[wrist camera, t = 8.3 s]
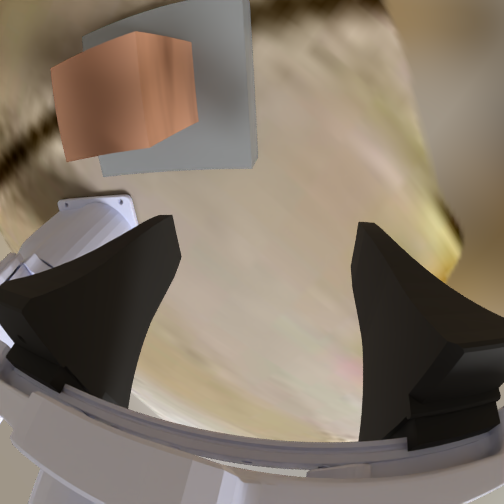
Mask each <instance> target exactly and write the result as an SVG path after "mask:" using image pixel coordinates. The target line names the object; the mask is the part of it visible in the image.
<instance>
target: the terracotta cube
mask: <svg viewBox="0 0 504 504" xmlns="http://www.w3.org/2000/svg"><path fill="white" fill-rule="evenodd" d="M51 78H52V86H53V94H54V101H55V108H56V114H57V119H58V125H59V130H60V135H61V140H62V144H63V149H64V153H65V157H66V161H67V162H70V161H75V160H79V159H84V158H89V157H94V156H100V155H105V154H111V153H117V152H124V151H130V150H137V149H145V148H150V147H152V146H154V145H155V144H157V143H159V142H161V141H162V140H164V139H166V138H168V137H170V136H172V135H173V134H175V133H177V132H179V131H181V130H183V129H185V128H187V127H189V126H191V125H193V124H195V123H197V122H199V120H198V110H197V100H196V90H195V79H194V68H193V56H192V43H191V42H189V41H185V40H180V39H176V38H171V37H167V36H162V35H156V34H151V33H145V32H138V31H135V32H132V33H129V34H126V35H123V36H120V37H117V38H115V39H112V40H110V41H107V42H105V43H102V44H100V45H97V46H95V47H93V48H90V49H88V50H86V51H84V52H81V53H79V54H77V55H75V56H73V57H71V58H69V59H67V60H65V61H63V62H61V63H59V64H57V65H56V66H54V67H52V68H51Z"/></svg>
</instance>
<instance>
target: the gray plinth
mask: <svg viewBox="0 0 504 504" xmlns="http://www.w3.org/2000/svg"><path fill="white" fill-rule="evenodd" d="M135 31H138V32H145V33H151V34H156V35H162V36H167V37H171V38H176V39H180V40H185V41H189V42H191V43H192V56H193V68H194V79H195V90H196V100H197V110H198V120H199V122H197V123H195V124H193V125H191V126H189V127H187V128H185V129H183V130H181V131H179V132H177V133H175V134H173V135H172V136H170V137H168V138H166V139H164V140H162V141H161V142H159V143H157V144H155V145H154V146H152V147H150V148H145V149H137V150H130V151H124V152H117V153H111V154H105V155H100V156H98V157H99V161H100V165H101V170H102V174H103V177H107V176H117V175H126V174H137V173H149V172H163V171H180V170H203V169H252V168H253V166H254V164H255V162H256V160H257V158H258V147H257V126H256V106H255V87H254V69H253V51H252V34H251V17H250V2H249V1H248V0H186V1H182V2H177V3H173V4H169V5H166V6H162V7H158V8H155V9H152V10H148V11H145V12H142V13H139V14H136V15H133V16H130V17H128V18H125V19H122V20H119V21H117V22H114V23H112V24H109V25H107V26H105V27H102V28H100V29H98V30H95V31H93V32H91V33H89V34H87V35H85V36H82V43H83V52H84V51H86V50H88V49H90V48H93V47H95V46H97V45H100V44H102V43H105V42H107V41H110V40H112V39H115V38H117V37H120V36H123V35H126V34H129V33H132V32H135Z"/></svg>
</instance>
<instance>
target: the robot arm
mask: <svg viewBox="0 0 504 504" xmlns="http://www.w3.org/2000/svg"><path fill="white" fill-rule="evenodd" d="M120 199H121V200H122V201H123V202H121V200H120ZM58 208H59V212H58V213H57V214H55V215H54V216H53V217H52V218H50V219H49V220H48V221H47V222H46V223H45V224H43V225H42V226H41V227H40V228H39V229H38V230H36V231H35V232H34V233H33V234H32V235H31V236H30V237H29V238H28V239H26V240H25V242H24V243H23V244H22V246H21V247H20V249H19V252H18V253H17V254H16V253H11V252H10V253H9V254H8V255H7V256H6V257H5V258H4V259H3V260H2V261H1V262H0V423H1V422H2V420H3V419H4V420H5V421H6V422H7V423H8V424H9V425H10V426H11V427H12V428H13V431H12V434H11V436H10V439H11V442H12V444H13V445H14V446H15V447H16V448H17V449H18V450H19V451H20V452H21V453H22V454H23V455H24V456H26V457H27V458H28V459H29V460H30V461H32V462H33V463H34V464H36V465H37V466H38V467H40V471H39V473H38V476H37V479H36V481H35V484H34V487H33V490H32V493H31V495H30V498H29V501H28V504H467V503H469V502H471V501H473V500H475V499H477V498H480V497H482V496H484V495H486V494H488V493H490V492H492V491H494V490H496V489H498V488H499V487H501V486H503V485H504V406H503V407H502V408H500V409H497V405H496V401H498V400H499V399H500V396H501V395H500V392H499V387H500V386H501V385H502V384H503V383H504V317H501V316H499V315H497V314H495V313H493V312H491V311H489V310H487V309H485V308H483V307H481V306H480V305H478V304H476V303H474V302H473V301H471V300H469V299H468V298H466V297H464V296H463V295H461V294H460V293H458V292H457V291H455V290H454V289H452V288H450V287H449V286H448V285H446V284H445V283H443V282H442V281H441V280H439V279H438V278H437V277H435V276H434V275H433V274H431V273H430V272H429V271H428V270H426V269H425V268H424V267H423V266H422V265H420V264H419V263H418V262H417V261H416V260H415V259H413V258H412V257H411V256H410V255H409V254H408V253H407V252H406V251H405V250H403V249H402V248H401V247H400V246H399V245H398V244H397V243H396V242H395V241H394V240H393V239H392V238H391V237H390V236H389V235H388V234H386V233H385V232H384V231H383V230H382V229H381V228H380V227H379V226H378V225H376V224H375V223H369V222H359V223H358V229H357V235H356V241H355V247H354V252H353V257H352V263H351V275H352V288H353V293H354V298H355V304H356V309H357V314H358V319H359V325H360V331H361V337H362V346H363V401H362V416H361V425H360V434H359V442H294V441H280V440H268V439H259V438H251V437H243V436H236V435H230V434H224V433H218V432H213V431H208V430H203V429H198V428H194V427H189V426H185V425H181V424H177V423H173V422H169V421H165V420H162V419H158V418H155V417H151V416H148V415H145V414H142V413H138V412H135V411H132V410H129V409H128V405H129V399H130V393H131V387H132V383H133V378H134V374H135V370H136V366H137V362H138V359H139V355H140V352H141V348H142V345H143V342H144V339H145V337H146V334H147V331H148V328H149V326H150V323H151V321H152V319H153V317H154V315H155V313H156V311H157V309H158V307H159V305H160V303H161V301H162V299H163V298H164V296H165V294H166V292H167V290H168V288H169V286H170V284H171V282H172V280H173V278H174V276H175V274H176V271H177V268H178V266H179V263H180V260H181V252H180V248H179V244H178V239H177V235H176V230H175V225H174V221H173V216H172V215H158V216H155V217H153V218H151V219H149V220H147V221H145V222H143V223H141V224H139V225H138V221H137V217H136V214H135V210H134V206H133V202H132V199H131V197H130V196H129V195H109V196H95V197H83V198H71V199H61V200H59V201H58ZM196 455H197V456H196ZM199 456H201V457H206V458H211V459H216V460H221V461H227V462H233V463H239V464H246V465H253V466H262V467H271V468H283V469H303V470H309V471H308V472H307V476H306V477H296V476H286V475H278V474H270V473H264V472H257V471H252V470H246V469H241V468H235V467H231V466H226V465H222V464H219V463H216V462H213V461H210V460H207V459H204V458H201V457H199Z"/></svg>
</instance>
